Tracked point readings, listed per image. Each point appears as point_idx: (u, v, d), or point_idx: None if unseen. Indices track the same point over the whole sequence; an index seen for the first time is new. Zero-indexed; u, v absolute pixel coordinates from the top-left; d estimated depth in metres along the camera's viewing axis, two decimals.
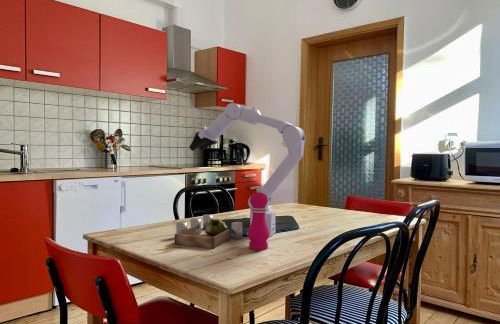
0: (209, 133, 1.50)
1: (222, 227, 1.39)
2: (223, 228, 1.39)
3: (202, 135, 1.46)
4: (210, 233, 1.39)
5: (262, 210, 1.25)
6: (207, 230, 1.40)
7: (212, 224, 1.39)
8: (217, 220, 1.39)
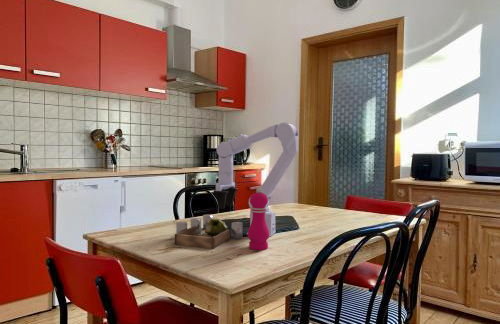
0: (223, 183, 1.48)
1: (222, 227, 1.39)
2: (223, 228, 1.39)
3: (219, 187, 1.44)
4: (210, 233, 1.39)
5: (262, 210, 1.25)
6: (207, 230, 1.40)
7: (212, 224, 1.39)
8: (217, 220, 1.39)
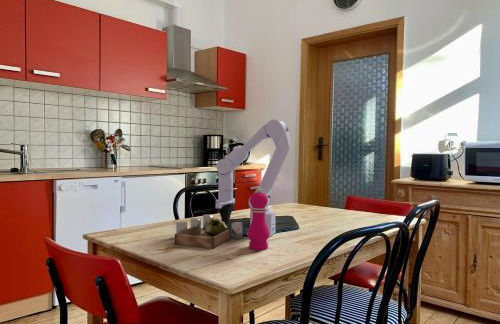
0: (223, 200, 1.48)
1: (222, 227, 1.39)
2: (223, 228, 1.39)
3: (219, 204, 1.44)
4: (210, 233, 1.39)
5: (262, 210, 1.25)
6: (207, 230, 1.40)
7: (212, 224, 1.39)
8: (217, 220, 1.39)
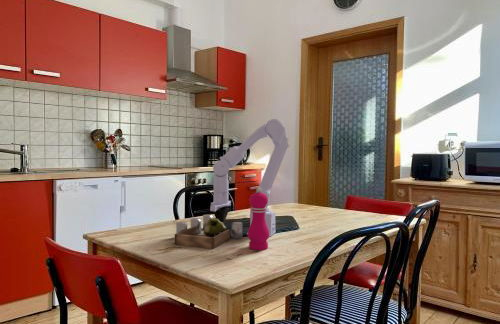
0: (218, 202, 1.44)
1: (221, 227, 1.38)
2: (222, 228, 1.38)
3: (213, 207, 1.40)
4: (209, 233, 1.38)
5: (262, 210, 1.25)
6: (206, 230, 1.38)
7: (211, 224, 1.38)
8: (216, 220, 1.38)
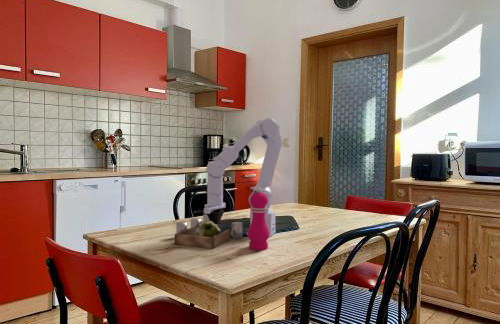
0: (212, 204, 1.39)
1: (215, 231, 1.33)
2: (216, 232, 1.33)
3: (207, 210, 1.35)
4: None
5: (262, 210, 1.25)
6: (200, 234, 1.33)
7: (205, 228, 1.33)
8: (210, 224, 1.33)
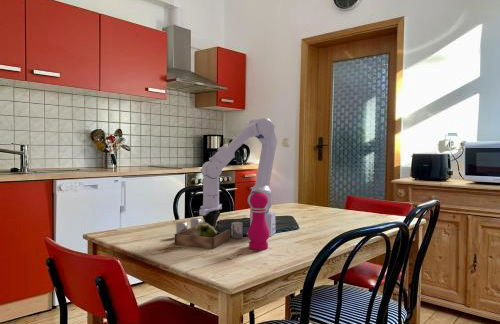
0: (208, 206, 1.36)
1: (212, 233, 1.30)
2: (213, 234, 1.30)
3: (203, 211, 1.32)
4: None
5: (262, 210, 1.25)
6: None
7: (201, 230, 1.29)
8: (206, 226, 1.30)
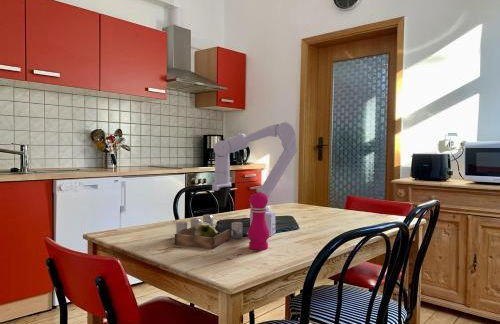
0: (220, 182, 1.45)
1: (213, 233, 1.30)
2: (214, 234, 1.30)
3: (215, 186, 1.41)
4: None
5: (262, 210, 1.25)
6: None
7: (202, 230, 1.29)
8: (207, 226, 1.30)
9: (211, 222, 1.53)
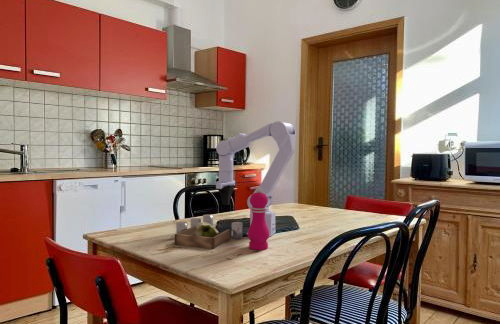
0: (223, 181, 1.50)
1: (213, 233, 1.30)
2: (215, 234, 1.30)
3: (219, 185, 1.46)
4: None
5: (262, 210, 1.25)
6: None
7: (203, 230, 1.29)
8: (208, 226, 1.30)
9: (211, 222, 1.53)
